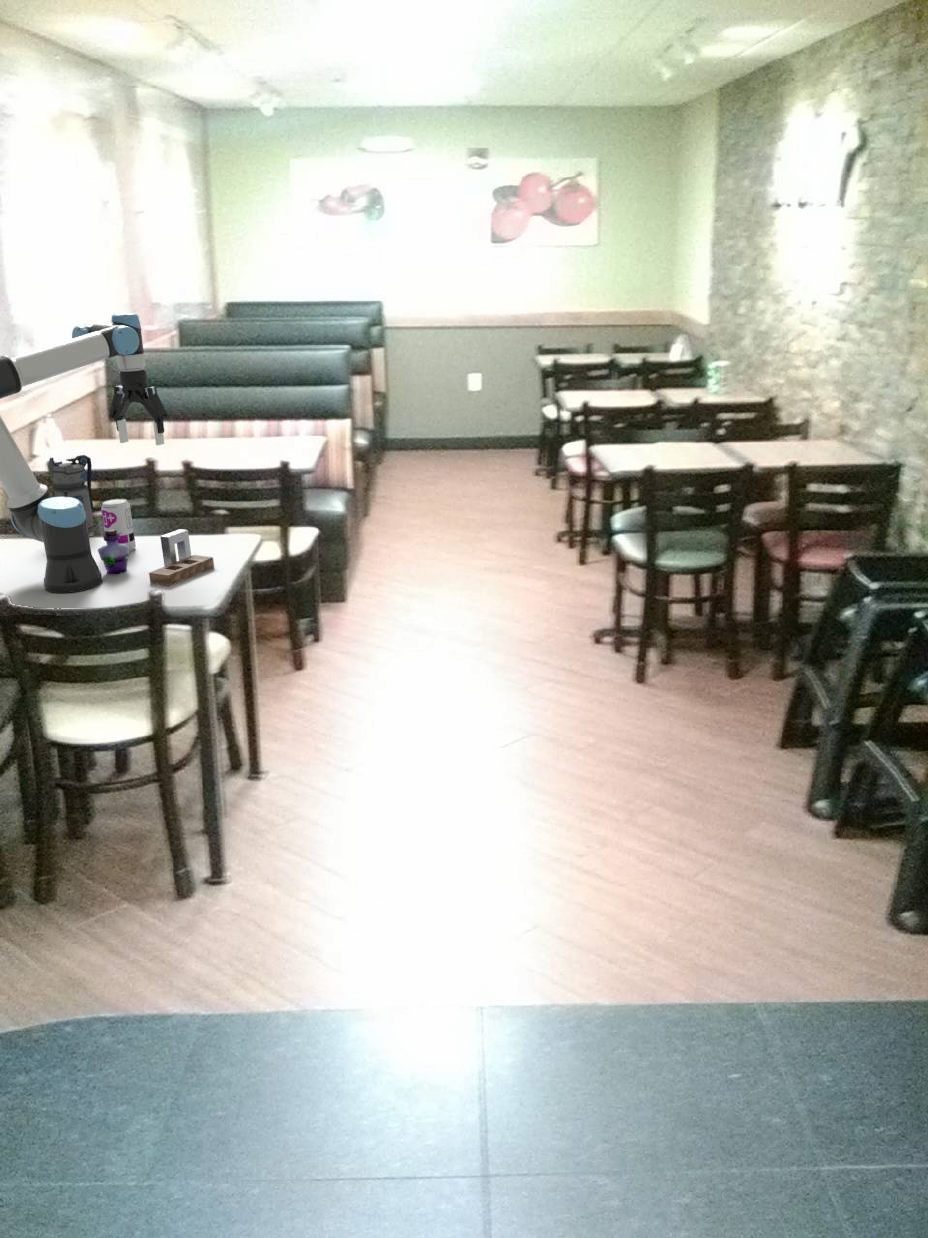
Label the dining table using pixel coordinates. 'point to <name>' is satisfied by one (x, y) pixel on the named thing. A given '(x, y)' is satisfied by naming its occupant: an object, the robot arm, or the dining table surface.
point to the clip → (169, 546)
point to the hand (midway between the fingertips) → (142, 443)
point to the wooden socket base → (181, 570)
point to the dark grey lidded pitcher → (74, 483)
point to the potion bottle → (114, 553)
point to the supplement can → (119, 520)
